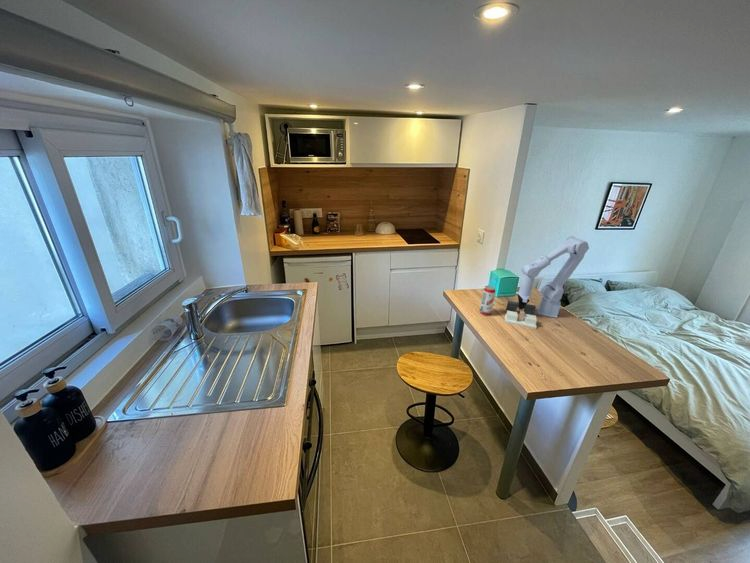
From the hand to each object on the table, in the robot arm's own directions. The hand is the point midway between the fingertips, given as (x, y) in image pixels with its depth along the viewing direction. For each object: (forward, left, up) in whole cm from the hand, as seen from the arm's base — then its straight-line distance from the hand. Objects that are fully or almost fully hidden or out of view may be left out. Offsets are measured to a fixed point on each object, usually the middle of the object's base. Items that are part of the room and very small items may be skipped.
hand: (520, 307), depth 161 cm
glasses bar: (0, 0, -3) cm, 2 cm away
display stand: (0, +9, -4) cm, 10 cm away
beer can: (+18, +7, -4) cm, 20 cm away
